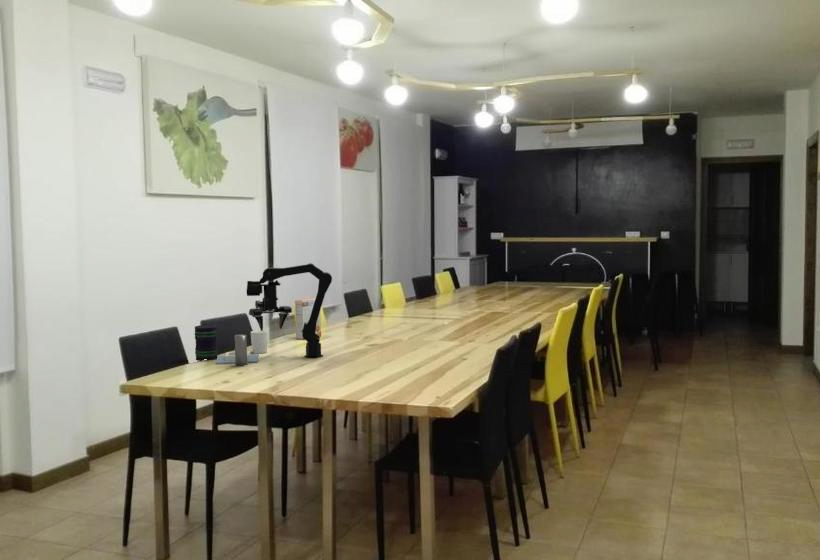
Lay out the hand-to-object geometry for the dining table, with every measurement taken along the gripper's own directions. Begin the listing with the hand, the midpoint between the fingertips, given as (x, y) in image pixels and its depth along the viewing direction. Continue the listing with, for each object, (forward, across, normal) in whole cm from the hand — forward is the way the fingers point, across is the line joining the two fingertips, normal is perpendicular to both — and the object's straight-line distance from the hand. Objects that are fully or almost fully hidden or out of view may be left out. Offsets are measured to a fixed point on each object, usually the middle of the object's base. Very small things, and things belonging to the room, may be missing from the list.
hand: (271, 329), depth 335 cm
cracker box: (+13, -41, -43) cm, 61 cm away
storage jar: (+13, +25, -16) cm, 32 cm away
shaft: (+13, +18, +8) cm, 24 cm away
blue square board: (+13, +14, -5) cm, 20 cm away
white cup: (+13, -2, -17) cm, 22 cm away
